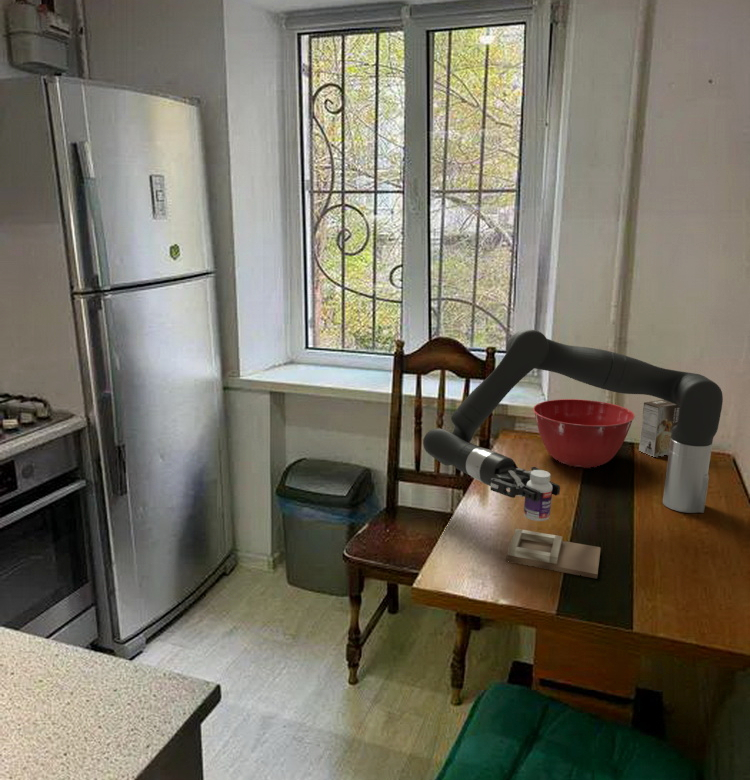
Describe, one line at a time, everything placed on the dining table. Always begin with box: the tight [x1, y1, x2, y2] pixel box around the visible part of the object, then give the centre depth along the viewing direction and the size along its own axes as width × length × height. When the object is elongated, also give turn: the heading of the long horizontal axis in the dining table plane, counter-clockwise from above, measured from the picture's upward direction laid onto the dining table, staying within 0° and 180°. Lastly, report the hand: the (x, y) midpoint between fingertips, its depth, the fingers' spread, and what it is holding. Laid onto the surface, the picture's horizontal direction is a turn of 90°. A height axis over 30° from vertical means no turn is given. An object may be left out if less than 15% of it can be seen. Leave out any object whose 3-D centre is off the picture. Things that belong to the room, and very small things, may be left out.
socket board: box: [506, 528, 602, 580], centre depth 140 cm, size 18×12×2 cm, turn 69°
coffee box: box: [638, 399, 681, 458], centre depth 202 cm, size 9×6×16 cm
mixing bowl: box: [532, 398, 636, 469], centre depth 195 cm, size 28×28×15 cm
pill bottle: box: [523, 469, 553, 522], centre depth 138 cm, size 5×5×10 cm
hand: (548, 493), depth 136 cm, fingers closed on pill bottle, 5 cm apart
